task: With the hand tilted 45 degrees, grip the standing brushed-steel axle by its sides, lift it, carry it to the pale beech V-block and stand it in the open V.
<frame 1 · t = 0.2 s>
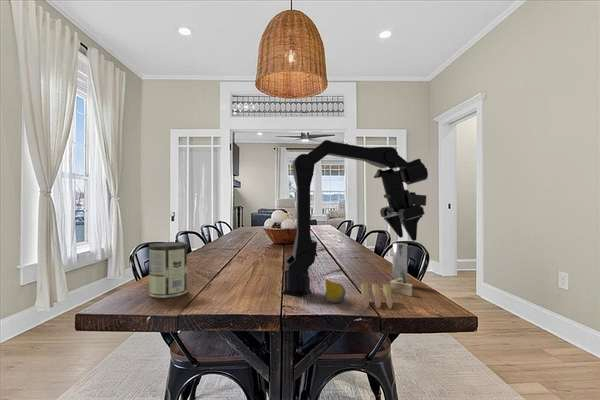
hand: (407, 238, 108), 15 cm above the table, fingers open, 9 cm apart
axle: (399, 285, 114), on the table
coffee can: (168, 293, 102), on the table
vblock: (409, 291, 106), on the table
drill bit: (334, 303, 94), on the table
ammunition: (376, 305, 93), on the table
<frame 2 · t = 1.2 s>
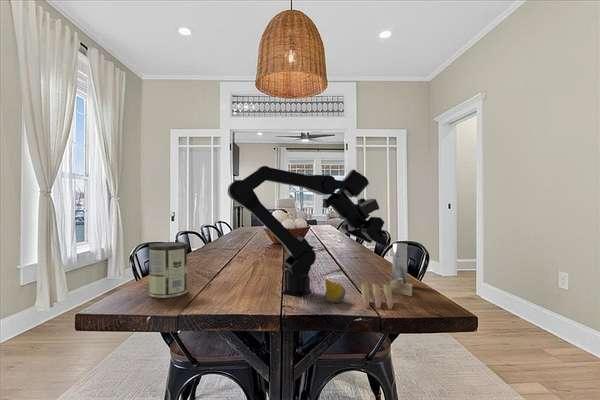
hand: (378, 243, 111), 13 cm above the table, fingers open, 9 cm apart
nothing on the table moved.
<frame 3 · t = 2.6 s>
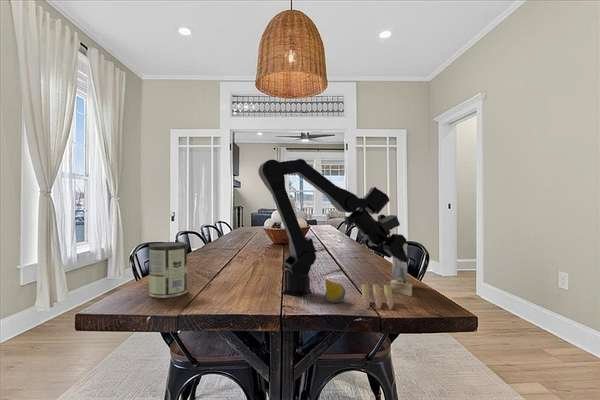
hand: (398, 259, 114), 8 cm above the table, fingers open, 9 cm apart
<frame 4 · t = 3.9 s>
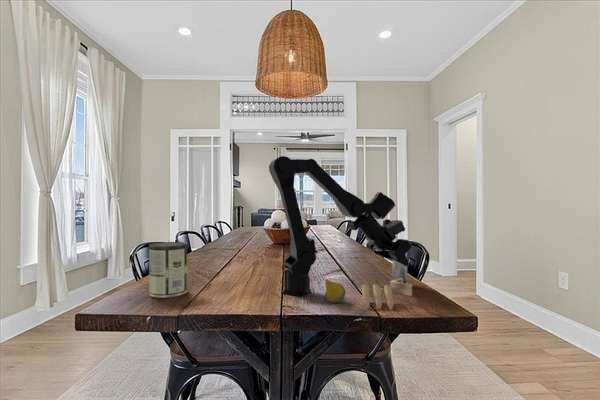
hand: (403, 264, 114), 7 cm above the table, fingers closed on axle, 4 cm apart
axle: (399, 285, 114), on the table, touching gripper
everything else where it was.
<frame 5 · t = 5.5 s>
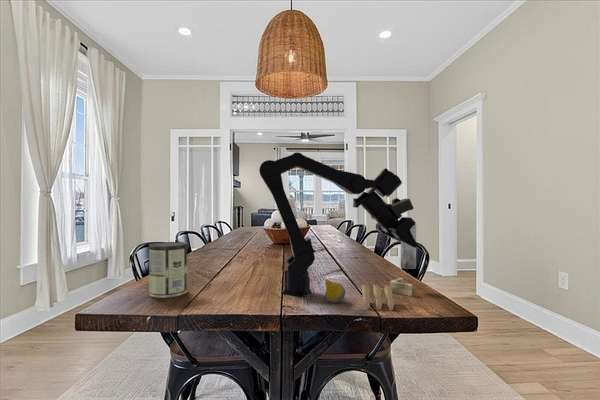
hand: (412, 245, 107), 13 cm above the table, fingers closed on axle, 4 cm apart
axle: (408, 267, 107), point 7 cm above the table, touching gripper
when the fingers open (8 cm above the table, at t = 7.0 s): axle drops 1 cm, on the table.
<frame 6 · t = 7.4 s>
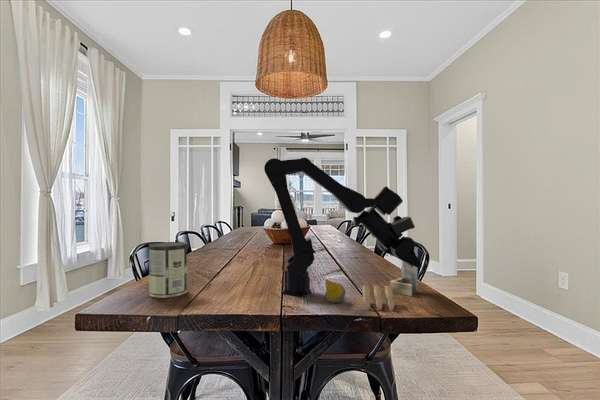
hand: (414, 264, 106), 8 cm above the table, fingers open, 9 cm apart
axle: (409, 291, 106), on the table
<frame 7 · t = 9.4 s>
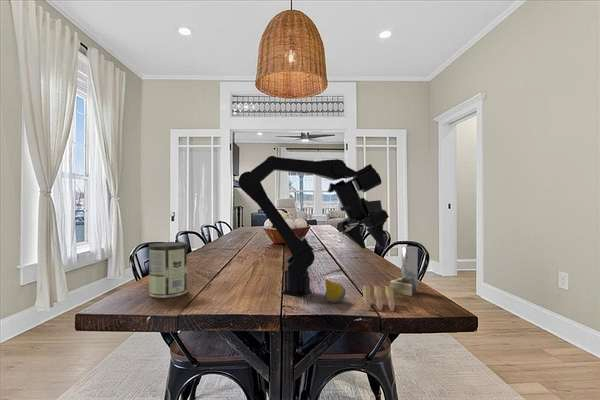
hand: (373, 247, 106), 13 cm above the table, fingers open, 9 cm apart
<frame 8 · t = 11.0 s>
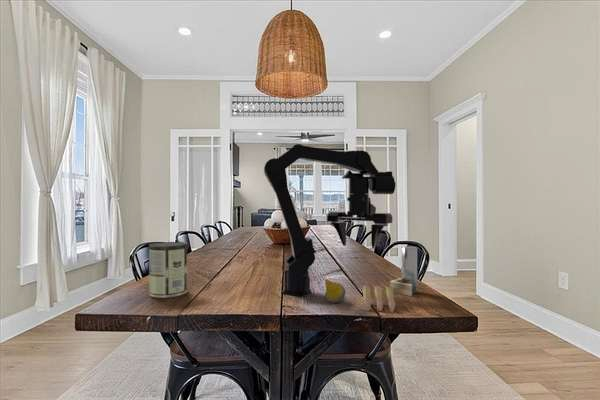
hand: (358, 246, 106), 13 cm above the table, fingers open, 9 cm apart
at the end: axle 0.1 cm from the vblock (horizontally); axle tilted 1°; the gripper is holding nothing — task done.
